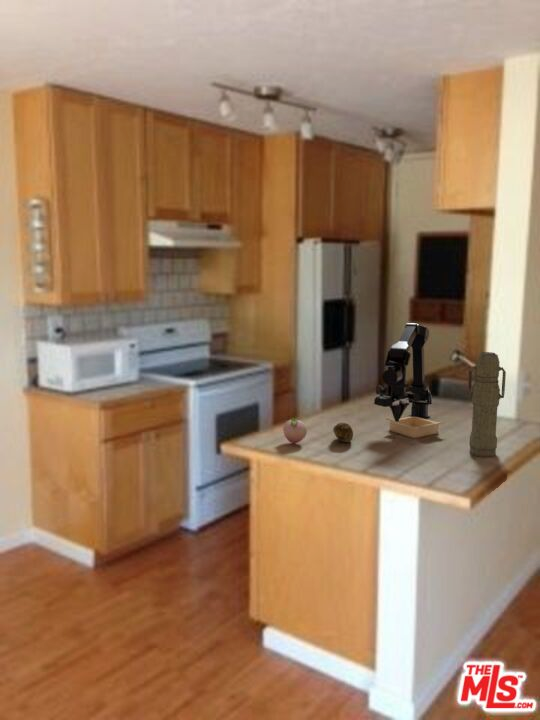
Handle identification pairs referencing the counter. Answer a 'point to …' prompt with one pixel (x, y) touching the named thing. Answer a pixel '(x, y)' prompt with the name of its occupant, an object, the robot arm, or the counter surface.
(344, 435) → the potato
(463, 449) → the counter surface
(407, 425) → the far flap
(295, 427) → the decorative fruit
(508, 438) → the counter surface
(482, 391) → the thermos
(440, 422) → the left flap
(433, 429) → the carton
